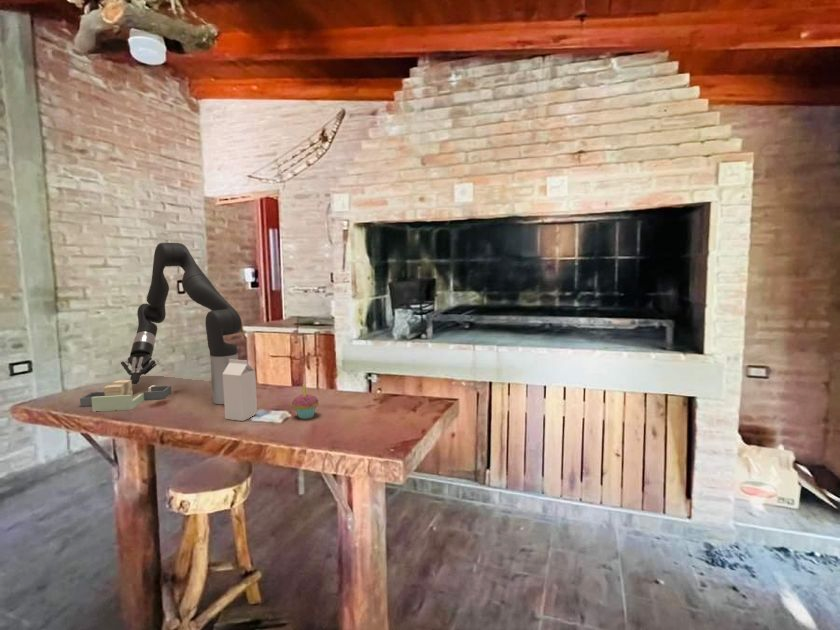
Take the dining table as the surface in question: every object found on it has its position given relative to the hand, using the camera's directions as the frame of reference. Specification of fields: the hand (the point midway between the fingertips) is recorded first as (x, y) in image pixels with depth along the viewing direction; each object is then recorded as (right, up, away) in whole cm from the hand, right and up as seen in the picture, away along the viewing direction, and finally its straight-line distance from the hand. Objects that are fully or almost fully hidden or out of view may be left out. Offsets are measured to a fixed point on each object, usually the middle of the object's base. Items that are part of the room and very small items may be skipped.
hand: (133, 383), depth 190 cm
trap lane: (+1, -5, -7) cm, 9 cm away
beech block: (+2, -6, -12) cm, 14 cm away
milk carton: (+51, -8, -27) cm, 58 cm away
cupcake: (+72, -7, -27) cm, 77 cm away
